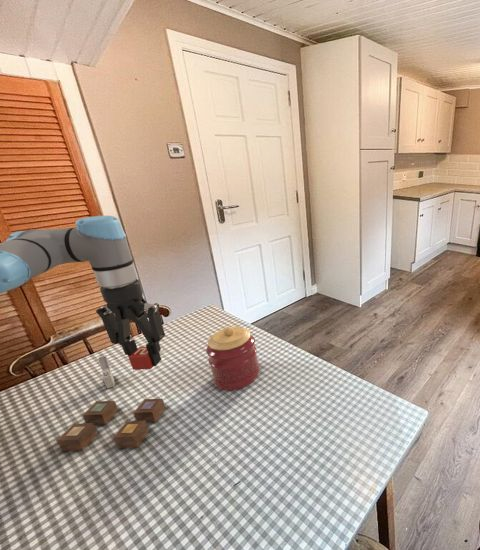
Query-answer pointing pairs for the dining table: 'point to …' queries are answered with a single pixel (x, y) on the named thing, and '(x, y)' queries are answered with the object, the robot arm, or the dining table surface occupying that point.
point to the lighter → (106, 372)
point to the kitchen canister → (233, 358)
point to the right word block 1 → (131, 434)
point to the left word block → (100, 412)
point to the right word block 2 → (149, 410)
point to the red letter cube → (140, 359)
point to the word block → (77, 437)
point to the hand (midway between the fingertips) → (147, 363)
